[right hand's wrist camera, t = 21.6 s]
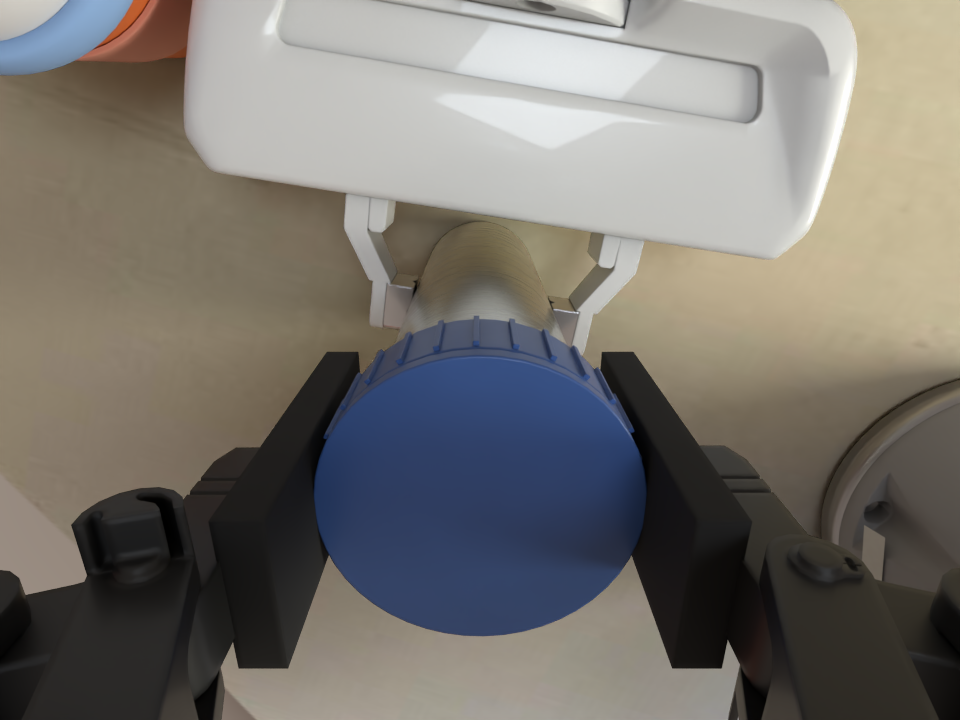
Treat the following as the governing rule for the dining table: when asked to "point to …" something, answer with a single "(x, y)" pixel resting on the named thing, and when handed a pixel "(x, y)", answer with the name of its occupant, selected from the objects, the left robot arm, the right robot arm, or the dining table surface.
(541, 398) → the lid
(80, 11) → the cup with straw
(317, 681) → the dining table surface
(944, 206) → the dining table surface
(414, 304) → the silver metal cylinder
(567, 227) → the left robot arm
